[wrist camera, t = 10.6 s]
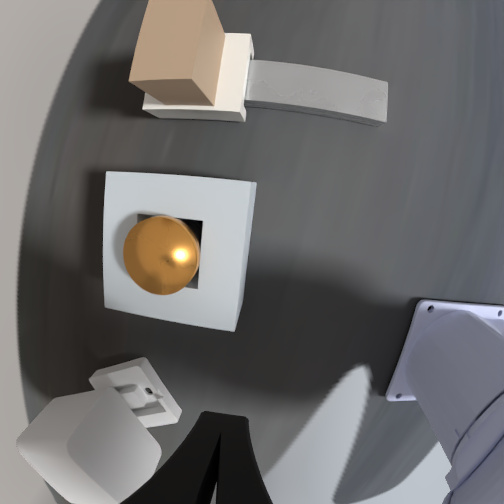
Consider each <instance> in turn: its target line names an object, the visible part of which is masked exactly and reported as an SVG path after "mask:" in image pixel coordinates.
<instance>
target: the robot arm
mask: <svg viewBox="0 0 504 504" xmlns="http://www.w3.org/2000/svg"><path fill="white" fill-rule="evenodd" d="M431 305H432V307H431V309H430V310H428V307H429V306H431ZM427 310H428V311H427ZM498 312H499V313H498ZM399 393H400V394H399ZM397 394H399V395H397ZM396 395H397V396H396ZM385 396H386V398H387V400H388V401H406V400H417V402H418V403H419V405H420V407H421V409H422V410H423V412H424V414H425V416H426V418H427V420H428V421H429V423H430V425H431V427H432V429H433V431H434V433H435V434H436V436H437V438H438V440H439V442H440V444H441V446H442V448H443V450H444V452H445V454H446V456H447V458H448V459H449V461H450V463H451V465H452V468H451V470H450V472H449V473H448V474H447V475H446V477H445V478H446V481H447V483H448V485H449V487H450V490H451V491H450V492H449V493H448V495H447V496H446V497H445V499H444V501H443V503H442V504H504V306H501V305H487V304H473V303H461V302H449V301H437V300H426V299H424V300H421V301H419V302H418V303H417V306H416V309H415V312H414V316H413V319H412V322H411V326H410V329H409V332H408V335H407V338H406V341H405V344H404V347H403V350H402V353H401V356H400V358H399V361H398V364H397V366H396V369H395V372H394V374H393V377H392V380H391V382H390V385H389V387H388V389H387V392H386V395H385ZM216 482H217V491H216V504H273V503H272V501H271V499H270V496H269V494H268V492H267V490H266V487H265V485H264V482H263V480H262V477H261V474H260V471H259V468H258V465H257V462H256V459H255V456H254V452H253V448H252V443H251V439H250V433H249V420H248V419H247V418H246V417H244V416H236V415H229V414H222V413H215V412H209V411H204V412H202V413H201V414H200V416H199V418H198V420H197V422H196V423H195V425H194V427H193V428H192V430H191V431H190V433H189V434H188V435H187V437H186V438H185V440H184V441H183V442H182V444H181V445H180V446H179V447H178V448H177V450H176V451H175V452H174V453H173V455H172V456H171V457H170V458H169V459H168V460H167V462H166V463H165V464H164V465H163V466H162V467H161V468H160V469H159V470H158V471H157V472H156V473H155V474H154V475H153V476H152V477H151V478H150V479H149V480H148V481H147V482H146V483H144V484H143V485H142V486H141V487H140V488H139V489H138V490H136V491H135V492H134V493H133V494H131V495H130V496H129V497H128V498H126V499H125V500H124V501H122V502H121V503H119V504H210V503H211V499H212V496H213V492H214V489H215V485H216Z"/></svg>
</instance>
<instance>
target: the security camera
mask: <svg viewBox="0 0 504 504" xmlns="http://www.w3.org/2000/svg"><path fill="white" fill-rule="evenodd" d="M89 381H90V383H91V384H92V386H93V387H94V389H95V390H93V391H88V392H83V393H78V394H73V395H68V396H62V397H56V398H54V399H53V400H52V401H51V402H50V403H49V404H48V405H47V406H46V407H45V408H44V409H43V410H42V412H41V413H40V414H39V415H38V416H37V417H36V418H35V419H34V420H33V421H32V422H31V424H30V425H29V426H28V427H27V428H26V429H25V430H24V431H23V432H22V434H21V435H20V436H19V437H18V439H17V442H16V445H17V449H18V451H19V452H20V454H21V455H22V456H23V457H24V458H25V459H26V460H27V461H28V463H29V464H30V465H31V466H32V467H33V468H34V469H35V470H36V471H37V472H38V473H39V474H40V475H41V476H42V477H43V478H44V479H45V480H46V481H47V482H48V483H49V484H50V485H51V486H52V487H53V488H54V489H55V490H56V491H57V492H58V493H59V494H61V495H62V496H63V497H64V498H65V499H66V500H67V501H69V502H71V503H74V504H119V503H121V502H122V501H124V500H125V499H126V498H128V497H129V496H130V495H131V494H133V493H134V492H135V491H136V490H138V489H139V488H140V487H141V486H142V485H143V484H144V483H146V482H147V481H148V480H149V479H150V478H151V477H152V476H153V474H154V472H155V469H156V467H157V464H158V462H159V459H160V457H161V448H160V446H159V444H158V442H157V441H156V440H155V439H154V438H153V437H152V435H151V434H150V433H149V432H148V431H147V429H146V428H147V427H154V426H160V425H167V424H173V423H177V422H178V419H179V417H180V414H181V412H182V410H181V408H180V407H179V406H178V404H177V403H176V401H175V400H174V399H173V397H172V396H171V394H170V393H169V391H168V390H167V389H166V387H165V386H164V384H163V383H162V381H161V380H160V378H159V377H158V375H157V374H156V372H155V370H154V369H153V367H152V366H151V364H150V363H149V361H148V359H147V358H145V357H141V358H138V359H134V360H131V361H128V362H124V363H121V364H117V365H114V366H110V367H107V368H103V369H100V370H97V371H96V372H95V373H94V374H93V375H92V376H91V377H90V378H89ZM145 388H150V389H151V391H152V392H153V393H148V392H147V391H146V390H145Z"/></svg>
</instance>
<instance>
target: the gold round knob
mask: <svg viewBox="0 0 504 504" xmlns="http://www.w3.org/2000/svg"><path fill="white" fill-rule="evenodd" d="M202 228H203V226H202V225H201V224H200V223H199V222H197V221H196V220H192V219H183V218H180V219H177V218H174V217H171V216H163V215H161V216H155V217H151V218H148V219H145V220H143V221H141V222H139V223H137V224H136V225H135V226H134V227H133V228H132V229H131V230H130V232H129V233H128V235H127V237H126V239H125V242H124V247H123V259H124V264H125V267H126V269H127V272H128V274H129V275H130V277H131V278H132V280H133V281H134V282H135V283H136V284H137V285H138V286H139V287H141V288H142V289H143V290H145V291H147V292H149V293H152V294H156V295H170V294H173V293H176V292H178V291H180V290H181V289H183V288H184V287H185V286H186V285H187V284H188V283H189V282H190V280H191V279H192V278H193V277H194V275H195V274H196V272H197V270H198V267H199V264H200V252H201V240H202Z"/></svg>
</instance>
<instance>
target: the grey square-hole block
mask: <svg viewBox="0 0 504 504" xmlns="http://www.w3.org/2000/svg"><path fill="white" fill-rule="evenodd" d="M256 184H257V183H256V182H248V181H238V180H229V179H219V178H208V177H196V176H184V175H170V174H154V173H135V172H109V171H106V183H105V198H104V219H103V279H104V301H105V307H106V308H110V309H115V310H119V311H124V312H128V313H133V314H138V315H142V316H147V317H152V318H157V319H162V320H167V321H173V322H178V323H184V324H189V325H195V326H201V327H207V328H213V329H219V330H226V331H233V332H235V328H236V325H237V321H238V317H239V314H240V310H241V307H242V303H243V296H244V288H245V279H246V270H247V261H248V253H249V244H250V236H251V227H252V218H253V210H254V201H255V193H256ZM161 215H163V216H171V217H174V218H183V219H192V220H201V221H203V228H202V240H201V252H200V265H199V267H198V270H197V272H196V274H195V275H194V277H193V278H192V279H191V280H190V282H189V283H188V284H187V285H186V286H185V287H184V288H183V289H181V290H180V291H178V292H176V293H173V294H170V295H156V294H152V293H149V292H147V291H145V290H143V289H142V288H141V287H139V286H138V285H137V284H136V283H135V282H134V281H133V280H132V278H131V277H130V275H129V274H128V272H127V269H126V267H125V264H124V259H123V247H124V242H125V239H126V237H127V235H128V233H129V232H130V230H131V229H132V228H133V227H134V226H135V225H136V224H137V223H139V222H141V221H143V220H145V219H148V218H151V217H155V216H161Z"/></svg>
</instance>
